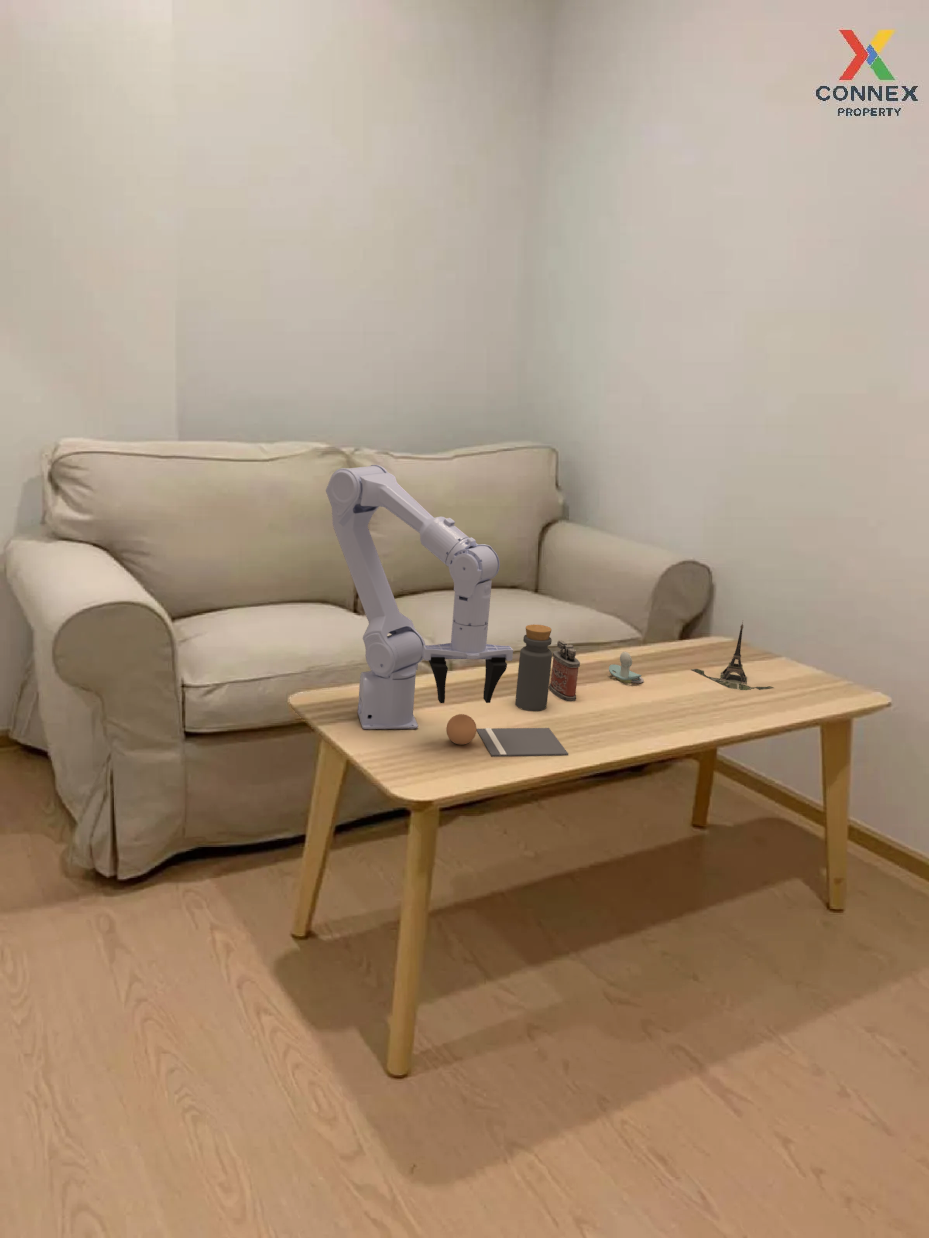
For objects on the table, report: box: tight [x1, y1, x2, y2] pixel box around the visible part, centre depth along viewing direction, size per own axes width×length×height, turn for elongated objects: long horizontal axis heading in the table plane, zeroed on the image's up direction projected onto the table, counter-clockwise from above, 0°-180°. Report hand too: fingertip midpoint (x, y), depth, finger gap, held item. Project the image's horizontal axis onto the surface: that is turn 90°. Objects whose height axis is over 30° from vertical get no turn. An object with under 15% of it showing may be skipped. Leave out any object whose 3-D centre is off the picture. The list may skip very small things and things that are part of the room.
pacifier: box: [608, 651, 645, 684], centre depth 206 cm, size 7×6×6 cm
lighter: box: [548, 639, 581, 702], centre depth 194 cm, size 8×3×10 cm, turn 22°
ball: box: [445, 713, 478, 746], centre depth 168 cm, size 5×5×5 cm
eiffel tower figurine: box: [690, 621, 774, 691], centre depth 211 cm, size 15×10×13 cm
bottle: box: [514, 623, 553, 712], centre depth 186 cm, size 6×6×15 cm
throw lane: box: [476, 727, 569, 757], centre depth 171 cm, size 13×11×1 cm
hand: (464, 700), depth 166 cm, fingers open, 7 cm apart
